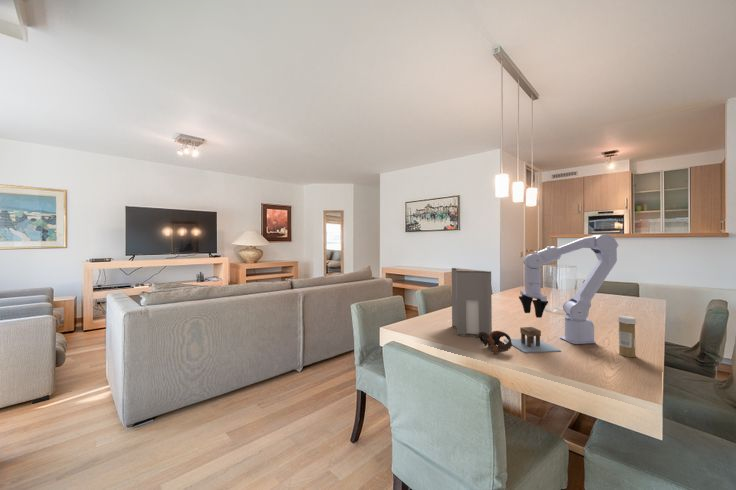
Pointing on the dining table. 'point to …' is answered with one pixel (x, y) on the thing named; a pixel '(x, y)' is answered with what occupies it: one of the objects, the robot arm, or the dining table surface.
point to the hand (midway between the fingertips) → (532, 315)
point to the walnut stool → (530, 335)
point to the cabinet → (471, 302)
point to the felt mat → (532, 346)
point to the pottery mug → (495, 341)
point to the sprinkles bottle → (627, 336)
